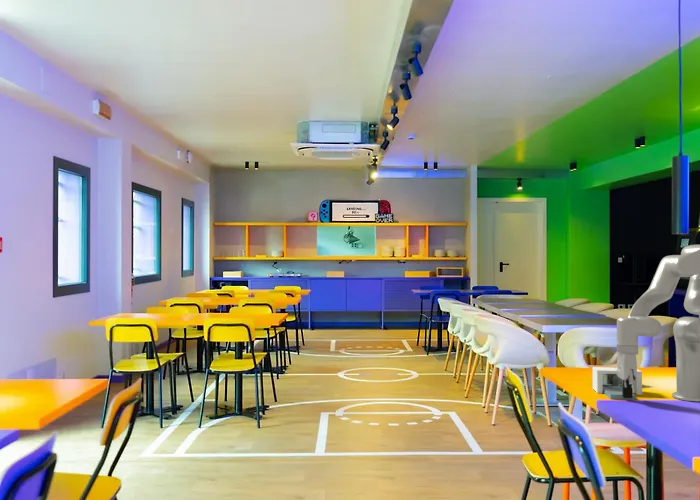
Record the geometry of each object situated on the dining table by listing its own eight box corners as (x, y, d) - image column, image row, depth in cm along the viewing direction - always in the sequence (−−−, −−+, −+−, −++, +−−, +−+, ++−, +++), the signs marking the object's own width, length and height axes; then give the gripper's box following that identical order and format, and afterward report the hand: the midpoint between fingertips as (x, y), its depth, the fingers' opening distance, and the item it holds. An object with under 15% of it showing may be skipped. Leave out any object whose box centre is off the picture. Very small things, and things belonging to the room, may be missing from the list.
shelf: (635, 390, 248) (635, 368, 248) (642, 394, 240) (641, 371, 241) (592, 389, 251) (592, 367, 251) (597, 393, 243) (597, 370, 243)
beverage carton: (593, 386, 258) (592, 370, 259) (625, 382, 266) (625, 367, 266) (607, 389, 251) (607, 373, 251) (640, 385, 259) (640, 370, 259)
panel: (623, 392, 247) (623, 386, 247) (635, 401, 231) (635, 395, 231) (600, 391, 248) (600, 386, 248) (610, 400, 232) (610, 394, 233)
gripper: (611, 346, 239) (611, 393, 238) (622, 352, 224) (622, 401, 223) (631, 347, 237) (631, 393, 237) (644, 352, 223) (644, 402, 222)
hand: (627, 397), depth 230 cm, fingers closed
